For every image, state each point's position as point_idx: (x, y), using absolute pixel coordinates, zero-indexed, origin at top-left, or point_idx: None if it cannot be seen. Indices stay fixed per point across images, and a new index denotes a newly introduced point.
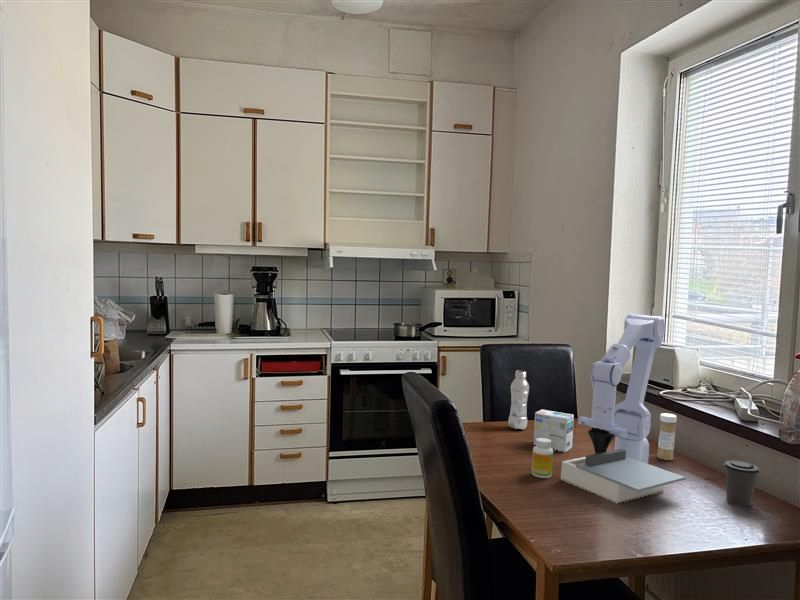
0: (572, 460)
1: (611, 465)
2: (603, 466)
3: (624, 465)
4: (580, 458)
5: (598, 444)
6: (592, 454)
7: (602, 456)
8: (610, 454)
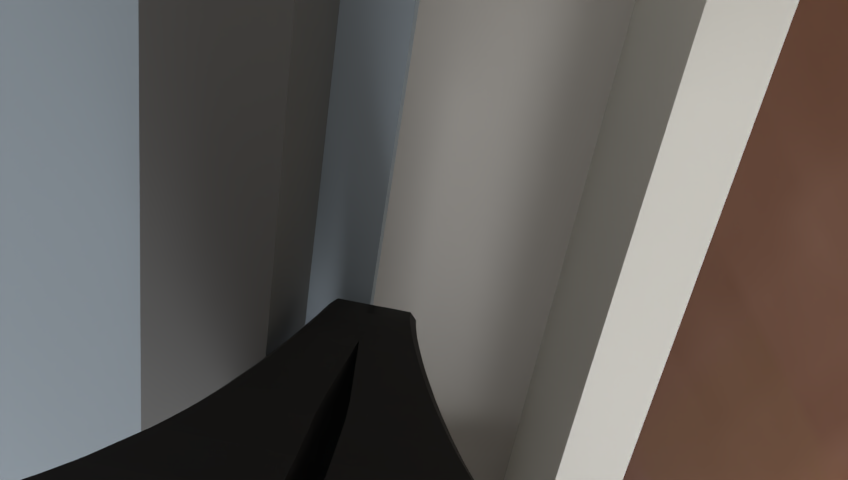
0: (739, 16)
1: (100, 235)
2: (121, 73)
3: (18, 382)
4: (678, 240)
5: (255, 426)
6: (284, 73)
7: (151, 212)
8: (148, 424)
